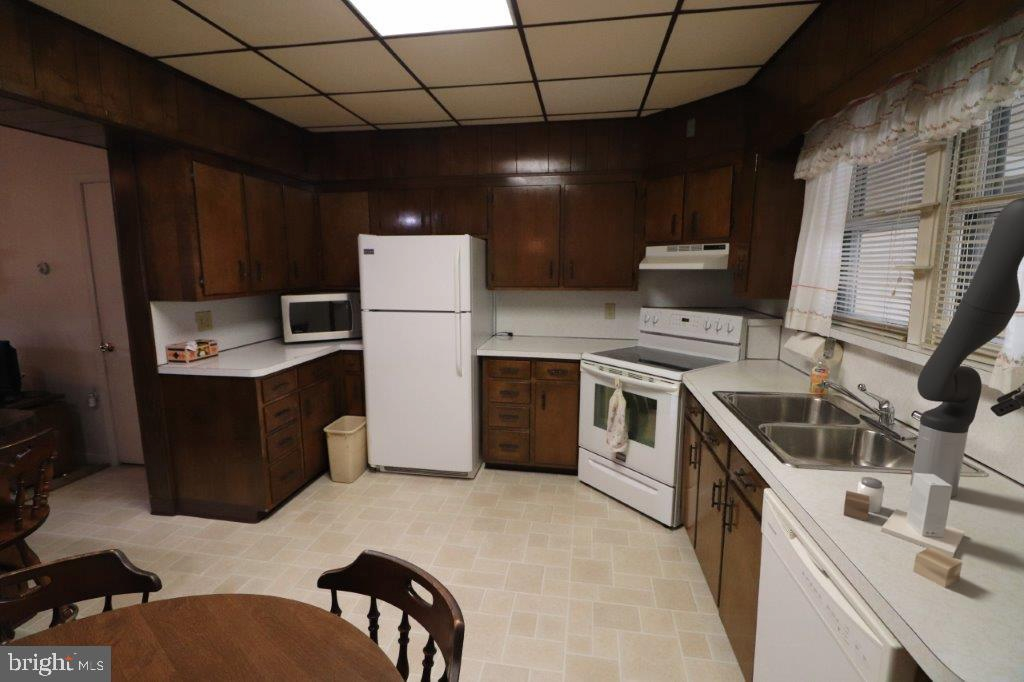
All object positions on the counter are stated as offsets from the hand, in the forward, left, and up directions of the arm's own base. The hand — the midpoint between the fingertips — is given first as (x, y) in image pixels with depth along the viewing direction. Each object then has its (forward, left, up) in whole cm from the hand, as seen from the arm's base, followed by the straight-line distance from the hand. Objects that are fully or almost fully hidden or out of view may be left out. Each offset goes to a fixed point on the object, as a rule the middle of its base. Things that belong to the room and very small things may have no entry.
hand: (997, 407), depth 95 cm
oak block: (+18, -3, -31) cm, 36 cm away
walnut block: (+4, -20, -31) cm, 37 cm away
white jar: (-2, -19, -31) cm, 36 cm away
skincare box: (+2, -7, -30) cm, 31 cm away
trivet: (+2, -8, -31) cm, 32 cm away
